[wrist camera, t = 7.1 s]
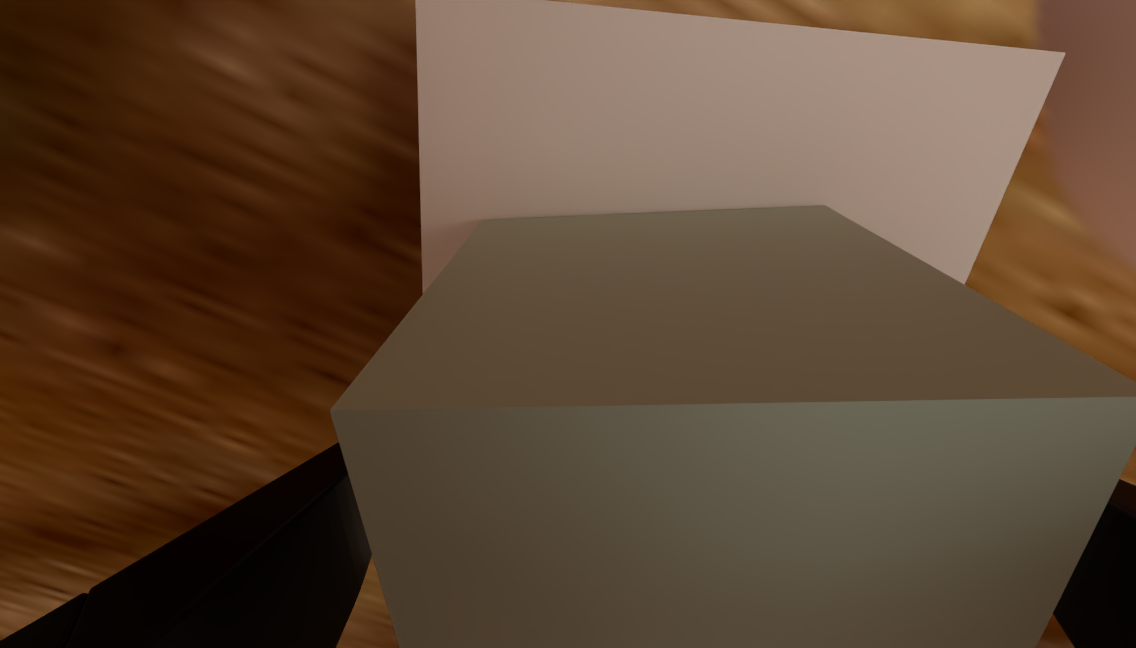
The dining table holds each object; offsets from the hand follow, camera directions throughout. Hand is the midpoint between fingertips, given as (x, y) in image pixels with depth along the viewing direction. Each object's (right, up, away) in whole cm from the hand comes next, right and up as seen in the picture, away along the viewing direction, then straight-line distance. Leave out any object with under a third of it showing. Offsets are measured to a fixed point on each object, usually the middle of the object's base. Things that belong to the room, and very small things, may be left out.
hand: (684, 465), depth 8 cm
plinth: (+1, +3, +7) cm, 7 cm away
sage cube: (0, +1, +3) cm, 3 cm away
